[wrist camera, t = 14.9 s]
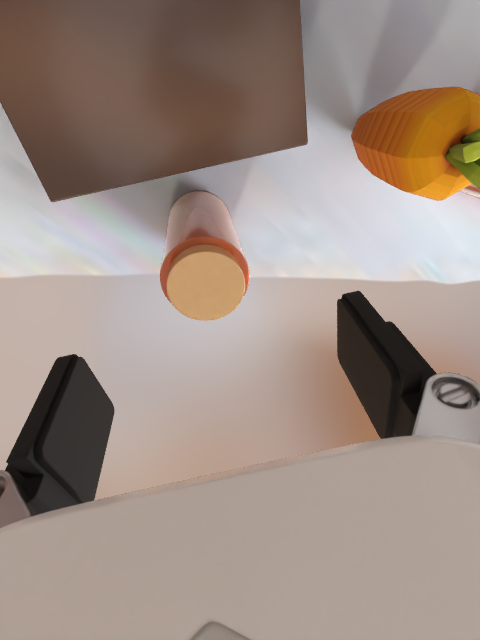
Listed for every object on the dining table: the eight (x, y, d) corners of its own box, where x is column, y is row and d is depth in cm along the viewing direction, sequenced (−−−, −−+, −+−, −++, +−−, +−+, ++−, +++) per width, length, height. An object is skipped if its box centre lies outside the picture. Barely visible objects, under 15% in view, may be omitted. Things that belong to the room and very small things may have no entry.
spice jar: (223, 184, 25) (244, 233, 16) (235, 244, 28) (258, 315, 19) (160, 198, 25) (144, 256, 16) (178, 258, 28) (174, 335, 19)
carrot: (311, 138, 24) (439, 182, 12) (361, 71, 22) (575, 41, 10) (354, 180, 26) (500, 254, 14) (403, 122, 24) (622, 150, 12)
